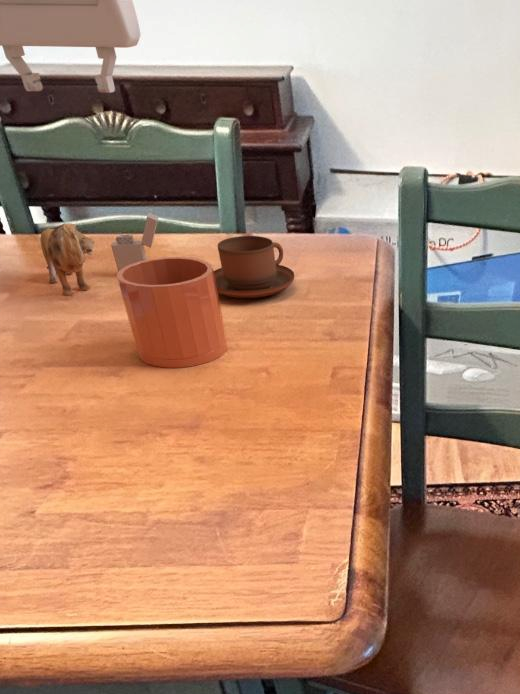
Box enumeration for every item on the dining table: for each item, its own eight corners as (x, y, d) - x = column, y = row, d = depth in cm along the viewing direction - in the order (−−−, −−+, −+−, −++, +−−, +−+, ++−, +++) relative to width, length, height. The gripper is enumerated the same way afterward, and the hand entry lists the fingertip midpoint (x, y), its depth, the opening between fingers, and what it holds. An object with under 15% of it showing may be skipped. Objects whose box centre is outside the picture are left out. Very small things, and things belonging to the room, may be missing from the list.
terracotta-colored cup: (131, 369, 83) (108, 288, 77) (146, 335, 91) (126, 258, 85) (223, 365, 84) (207, 284, 78) (230, 331, 92) (216, 255, 86)
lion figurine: (112, 293, 102) (92, 223, 96) (75, 303, 99) (52, 230, 93) (66, 268, 109) (45, 201, 103) (30, 276, 106) (6, 208, 100)
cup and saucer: (238, 272, 109) (230, 227, 105) (310, 282, 106) (305, 236, 102) (191, 298, 100) (181, 250, 96) (268, 310, 98) (261, 261, 93)
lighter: (119, 276, 107) (102, 216, 102) (121, 273, 108) (105, 213, 103) (169, 274, 108) (156, 214, 103) (171, 270, 109) (157, 211, 104)
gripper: (-75, -57, 82) (-23, 93, 91) (104, -55, 81) (138, 96, 90) (-42, -56, 86) (4, 86, 96) (127, -55, 85) (157, 89, 95)
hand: (71, 91), depth 93 cm, fingers open, 8 cm apart
